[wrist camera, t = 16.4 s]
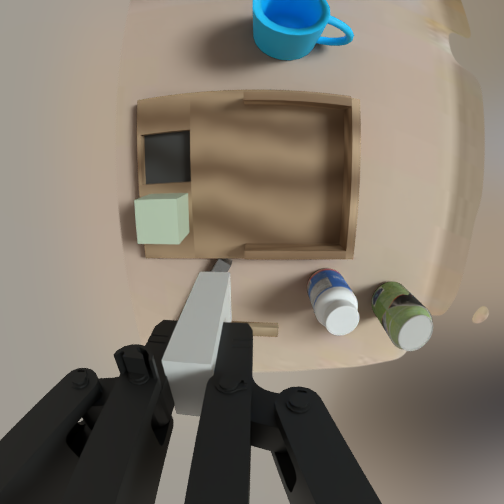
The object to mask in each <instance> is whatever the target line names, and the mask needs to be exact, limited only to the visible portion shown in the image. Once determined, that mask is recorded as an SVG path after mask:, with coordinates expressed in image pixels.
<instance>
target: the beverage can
mask: <svg viewBox="0 0 504 504" xmlns="http://www.w3.org/2000/svg"><path fill="white" fill-rule="evenodd" d="M371 304H372V309H373V311H374V313H375V315H376V316H377V318H378V320H379V321H380V323H381V324H382V326H383V328H384V329H385V331H386V333H387V334H388V336H389V338H390V339H391V341H392V342H393V344H394V345H395V346H396V347H398V348H400V349H404V350H406V351H414V350H417V349H419V348H421V347H422V346H424V345H425V344H426V342H427V341H428V340H429V339H430V337H431V334H432V331H433V323H432V316H431V314H430V312H429V311H428V310H427V309H426V308H425V307H424V306H423V305H422V304H421V303H420V302H419V301H418V300H417V299H416V298H415V297H414V296H413V295H412V294H411V293H410V292H409V291H408V290H407V289H406V288H405V287H404V286H402V285H401V284H400V283H397V282H387V283H385V284H383V285H381V286H380V287H379V288H378V289H377V290H376V291H375V293H374V295H373V297H372V303H371Z"/></svg>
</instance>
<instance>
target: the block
mask: <svg viewBox="0 0 504 504" xmlns="http://www.w3.org/2000/svg"><path fill="white" fill-rule="evenodd" d="M134 204H135V219H136V231H137V241H138V244H180V243H181V242H182V240H183V239H184V238H185V237H186V236H187V235H188V233H189V210H188V193H162V194H149V195H146V196H143V197H141V198H138V199H136V200H134Z"/></svg>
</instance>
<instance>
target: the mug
mask: <svg viewBox="0 0 504 504" xmlns="http://www.w3.org/2000/svg"><path fill="white" fill-rule="evenodd" d="M327 24H330V25H333V26H335V27H337V28H339V29H340V30H342V31H343V32H344V33H345V34H346V36H344V37H340V38H328V37H320V35H321V34H322V32H323V30H324V28H325V27H326V25H327ZM353 37H354V34H353V32H352V30H351V28H350V27H349V26H348V25H347V24H345V23H344V22H342V21H341V20H339V19H337V18H335V17H332V16H330V7H329V5H328V3H327V1H326V0H253V38H254V40H255V43H256V45H257V46H258V47H259V49H260V50H261V51H262V52H264V53H265V54H267V55H268V56H270V57H273V58H276V59H279V60H295V59H300V58H302V57H304V56H306V55H308V54H309V53H310V51H311V50H312V49H313V48H314V46H315V44H316V43H317V44H322V45H330V46H340V45H346V44H348V43H350V42H352V40H353Z"/></svg>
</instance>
